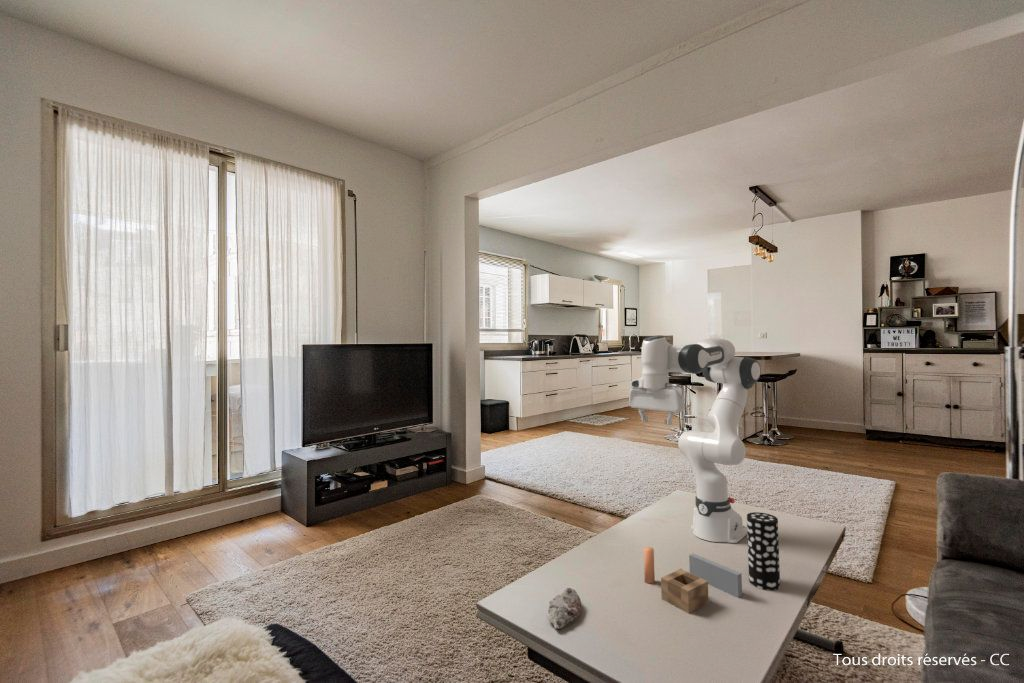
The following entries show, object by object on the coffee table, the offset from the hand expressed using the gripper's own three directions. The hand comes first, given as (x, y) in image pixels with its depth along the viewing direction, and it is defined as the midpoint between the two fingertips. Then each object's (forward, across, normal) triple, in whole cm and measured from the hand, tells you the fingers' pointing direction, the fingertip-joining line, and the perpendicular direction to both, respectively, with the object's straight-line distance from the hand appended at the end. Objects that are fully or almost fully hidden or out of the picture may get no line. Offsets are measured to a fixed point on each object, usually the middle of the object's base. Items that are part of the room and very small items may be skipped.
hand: (656, 423), depth 157 cm
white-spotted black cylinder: (+46, -30, -11) cm, 56 cm away
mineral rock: (+47, -4, +48) cm, 67 cm away
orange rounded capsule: (+47, -7, +15) cm, 49 cm away
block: (+47, -20, +16) cm, 53 cm away
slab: (+46, -21, +2) cm, 51 cm away
